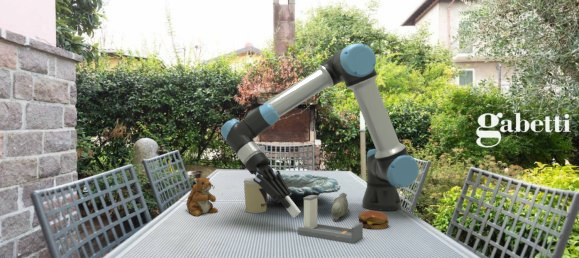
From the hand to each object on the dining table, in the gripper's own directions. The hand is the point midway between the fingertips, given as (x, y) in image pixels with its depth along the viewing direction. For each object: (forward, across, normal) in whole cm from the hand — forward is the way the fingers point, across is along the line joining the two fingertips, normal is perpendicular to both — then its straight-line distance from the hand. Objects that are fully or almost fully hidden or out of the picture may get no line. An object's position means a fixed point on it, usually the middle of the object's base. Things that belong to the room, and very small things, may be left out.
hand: (297, 214), depth 132 cm
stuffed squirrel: (-28, -4, -35) cm, 45 cm away
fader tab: (+6, 0, +1) cm, 6 cm away
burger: (+17, -19, +9) cm, 27 cm away
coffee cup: (-16, -17, -23) cm, 33 cm away
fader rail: (+11, 0, +4) cm, 12 cm away
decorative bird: (+6, -25, -1) cm, 26 cm away
